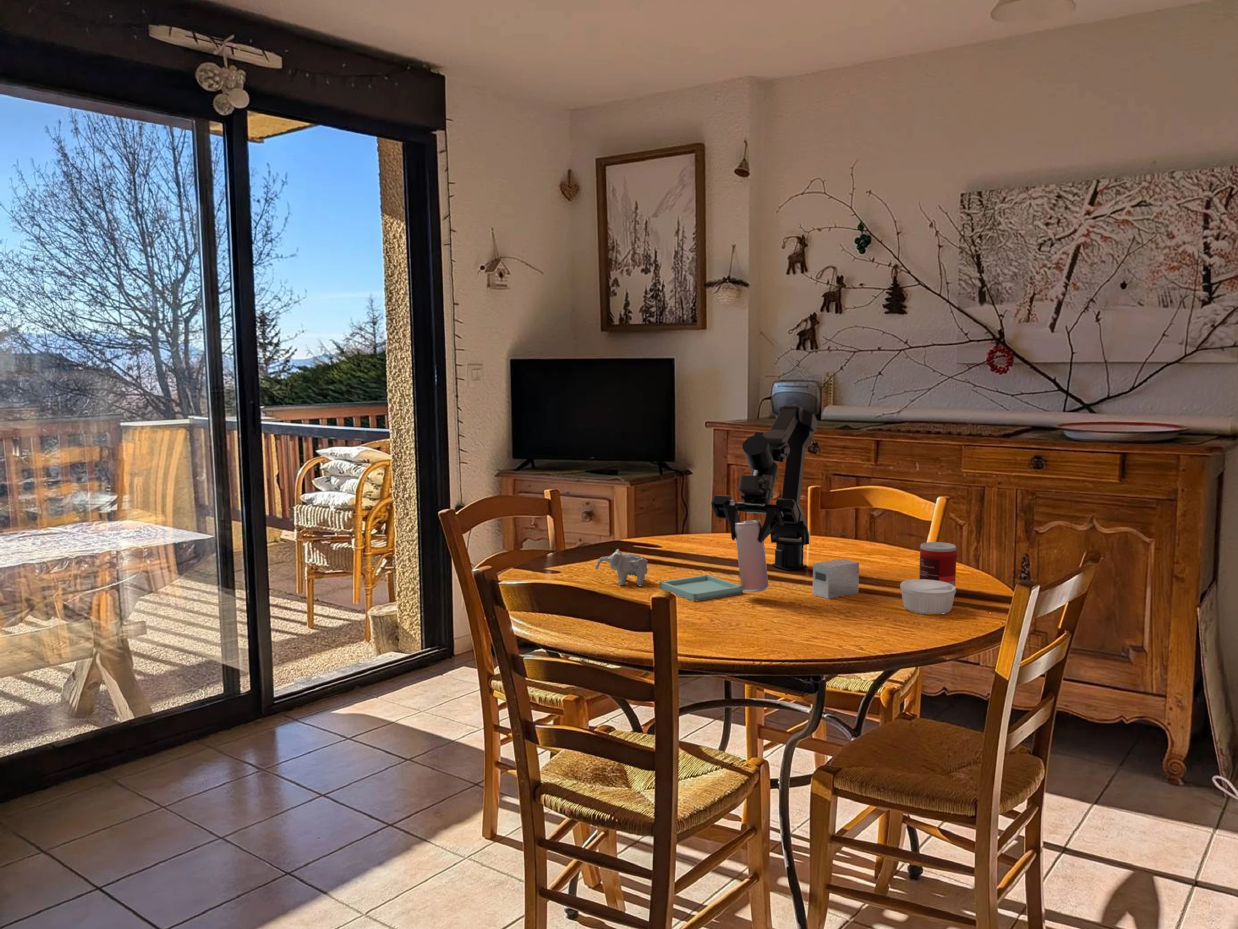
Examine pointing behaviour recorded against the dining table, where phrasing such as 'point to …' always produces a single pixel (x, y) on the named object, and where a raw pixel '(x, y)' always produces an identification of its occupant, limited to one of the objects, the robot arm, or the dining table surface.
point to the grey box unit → (835, 578)
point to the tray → (701, 587)
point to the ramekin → (927, 596)
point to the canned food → (938, 562)
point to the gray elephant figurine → (626, 566)
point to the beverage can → (751, 556)
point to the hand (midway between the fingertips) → (746, 540)
